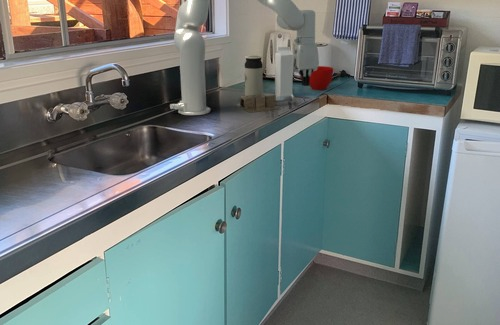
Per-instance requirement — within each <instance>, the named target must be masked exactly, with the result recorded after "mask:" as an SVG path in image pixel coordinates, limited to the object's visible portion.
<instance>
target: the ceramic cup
mask: <svg viewBox="0 0 500 325" xmlns="http://www.w3.org/2000/svg"><path fill="white" fill-rule="evenodd" d="M299 75H300V74H299ZM333 75H334V68H333V67H331V66H325V65H319V66H318V68H317V70H316V71H313V72H312V73H311V76H310V83H309V86H310V89H312V90H315V91H325V90H326V89H327V88H328V87H329V85H331V82H332V80H333ZM299 77H300V81H302V76H301V75H300V76H299Z"/></svg>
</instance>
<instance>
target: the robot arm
mask: <svg viewBox="0 0 500 325" xmlns="http://www.w3.org/2000/svg"><path fill="white" fill-rule="evenodd" d="M210 2H211V1H210V0H186V1H184V2H183V3H181V4H180V6H179V8H178V11H177V16H176V22H175V27H174V28H175V29H174V34H173V35H174V37H173V42H174V43H173V44H174V47H175V48H176V49H177V51H178V52H179V53H180V54H179V71H180V72H179V74H180V91H181V100H179V102H177V103H170V104H169V108H170V110H174V109H175V110H178V114H180V115H184V116H201V115H206V114H209V113H210V112H211V108H210V107H208V106H207V96H206V92H207V91H206V73H205V72H206V69H205V67H206V65H205V64H206V63H205V60H206V59H205V58H206V57H205V56H206V41H205V38H204V37H203V35H202V34H201V33H200V27H201V26H203V25H205V23H207V19H208V14H209V7H210ZM257 2H259V3H260V4H261V5H263V6H264V7H267V8H269V9H271V10H272V11H273V12H274V13H275V14H277V16H276V23H277V26H278V27H279V28H280V29H283V30H288V31H296V39H294V40H293V41H294V43H295V45H294V51H293V69H294V70H293V72H294V73H296V74H299V75H301V76H302V80H301V85H302V86H303V87H309V86H310V85H309V83H310V76H311V73H312V72H313V71H316V70H317V68H318V66H320V64H319V63H320V60H319V58H320V56H319V49H318V44H317V43H316V12H315V11H314V10H312V9H302V10H301V9H299V8H298V6H297V5H296V4H295V3H294V2H293V1H292V0H257Z"/></svg>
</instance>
